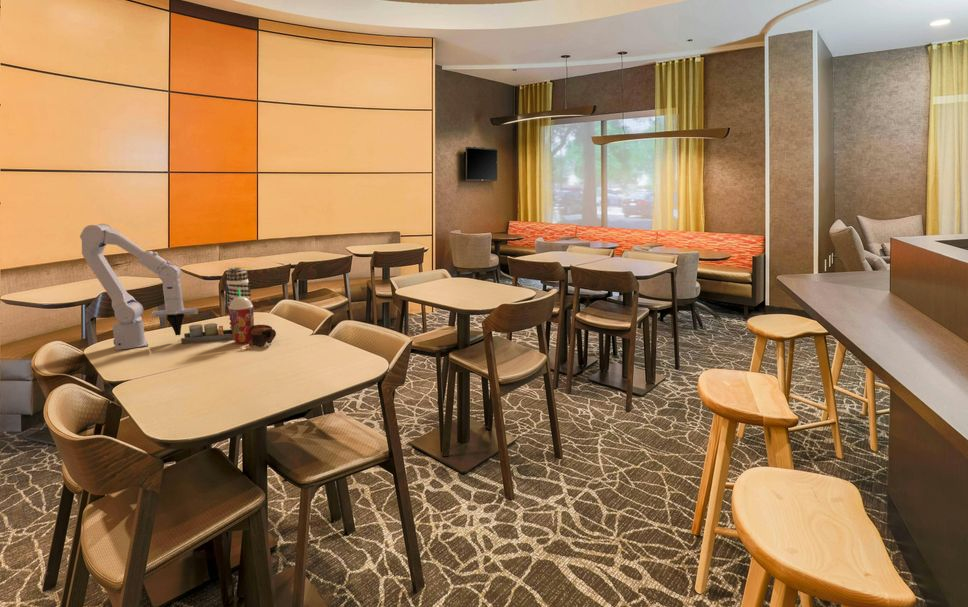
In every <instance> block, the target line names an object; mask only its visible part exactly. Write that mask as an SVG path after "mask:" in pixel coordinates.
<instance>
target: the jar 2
mask: <svg viewBox="0 0 968 607" xmlns="http://www.w3.org/2000/svg"><path fill="white" fill-rule="evenodd" d="M218 328H219V327H218V324H217V323H216V322H215V323H212V322H210V323H206V324H204V325H203V332H205V336H212V335H218Z"/></svg>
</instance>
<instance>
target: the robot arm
mask: <svg viewBox="0 0 968 607" xmlns="http://www.w3.org/2000/svg"><path fill="white" fill-rule="evenodd" d="M79 238H80V240H81V255H82V256H83V258H84V260H85V261H86V263H87V264H88V266H89V268H90V269H91V271H92V272H93V274H94V275H95V277H96V278H97V280H98V281H99V283H100V285H101V286H102V288H103V289H104V290H105V292H106V293H107V295H108V297H109V298H110V299H111V308H112V309H113V311H114V317H115V319H116V321H118V322H117V323H112V325H111V326H112V333H113V345H114V347H115V351H120V350H127V349H135V348H141V347H148V346H149V345H148V342H147V340H146V337H145V329H144V322H143V318H142V315H143V314H144V307H143V305H142V304H141V303H140V302H139V301H137V300H136V299H135V297H134V296H133V295H131V294H129V293H128V292H127V289H125V286H123V284H122V282H121V281H120V279H119V278H118V276H117V274H116V273H115V271H114V270H113V268H112V267H111V265H110V263H109V262H108V260H107V258H105V255H104V253H103V252H104V251H105V248H106V246H107V245H114V246H118V247H119V248H121V249H122V250H124V251H126V252H128V253H129V254H130V255H133V256H134V257H136V258H137V259H138V260H139V264H140V265H142V266H143V267H145V268H146V269H148V270H149V271H151V272H152V273H154V274H156V275H158V278H159V279H160V280H161V282H162V291H163V297H164V299H163V300H164V307H165V309H163V310H153V311H152V312H151V318H160V317H166V320H167V322H168V323H169V324H170V325H171V327H172V330H173V332H174V334H175V336H180V335H181V334H182V332H181V330H182V325H183V322H184V318H185V317H186V316H185V315H198V314H199V308H198V307H193V308H192V307H191V308H190V307H189V308H188V307H187V308H185V307H184V306H185V305H184V300H183V299H184V298H183V291H182V285H181V284H182V283H181V278H180V277H181V276H182V270H181V268H180V266H178V265H177V264H175V263H171V261H169V260H166V259H164V258H163V257H161V256H160V255H159V253H158V252H157V251H152V250H147V251H146V250H144V249H143V248H142V247H140V246H139V245H138V244H136V243H135V242H133V241H132V240H131V239H129V238H128V237H127V236H126V235H124V234H122V233H121V232H120V231H118V230H117V229H116V228H112V226H110V224H109V225H108V224H106V223H98V224H90V225H86V226H85V227H84V228H83V230H82V231H81V234H80V235H79Z"/></svg>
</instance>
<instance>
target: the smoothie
mask: <svg viewBox="0 0 968 607" xmlns="http://www.w3.org/2000/svg"><path fill="white" fill-rule="evenodd" d="M238 292H239V297H236V298H234V299H233V300H232V301H231V302H230V305H228V307H227V308H228V313H229V314H228V316H229V315H230V316H229V320H230V322H231V325H230V326H232V332H233V338H234V339H233V341H234V342H235V344H237V345H244V344H245V345H247V344H249V343H248V342H249V341H250V340H252V336H251V334H250V333H249V334H248V332H249V331H250V330H251V326H254V325H255V320H254V317H255V316H254V315H255V314H254V304H253V303H252V300H251V301H250V300H249V299H248V298H246V297H242V296H241V293H240V289H238ZM250 332H251V331H250Z"/></svg>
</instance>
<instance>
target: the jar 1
mask: <svg viewBox="0 0 968 607" xmlns="http://www.w3.org/2000/svg"><path fill="white" fill-rule="evenodd" d="M188 330H189V332H188V333H190V337H200V336H203V332H204V325H203V324H201V323H200V324H191V325H189V326H188Z"/></svg>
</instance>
